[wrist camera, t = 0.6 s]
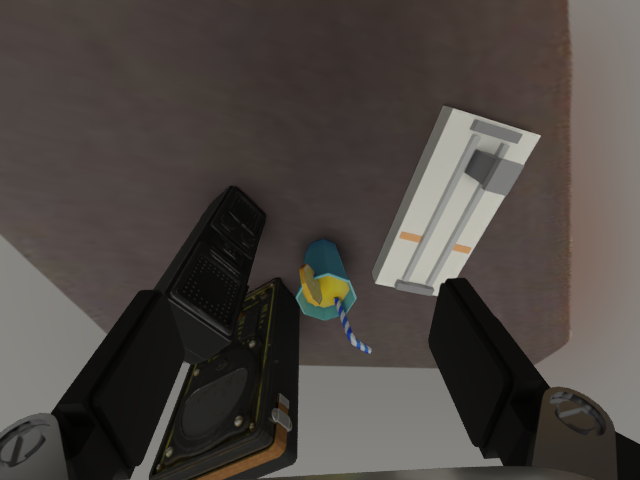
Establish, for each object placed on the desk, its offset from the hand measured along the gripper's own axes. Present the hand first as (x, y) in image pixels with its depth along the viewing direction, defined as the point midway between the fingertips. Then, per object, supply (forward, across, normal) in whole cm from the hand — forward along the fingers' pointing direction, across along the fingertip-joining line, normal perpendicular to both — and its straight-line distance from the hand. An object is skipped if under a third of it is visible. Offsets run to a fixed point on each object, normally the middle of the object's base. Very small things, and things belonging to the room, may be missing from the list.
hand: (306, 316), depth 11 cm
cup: (+33, -3, +19) cm, 38 cm away
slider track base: (+33, -19, +11) cm, 40 cm away
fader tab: (+30, -22, +4) cm, 37 cm away
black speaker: (+33, +10, +29) cm, 45 cm away
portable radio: (+33, +10, +11) cm, 36 cm away
